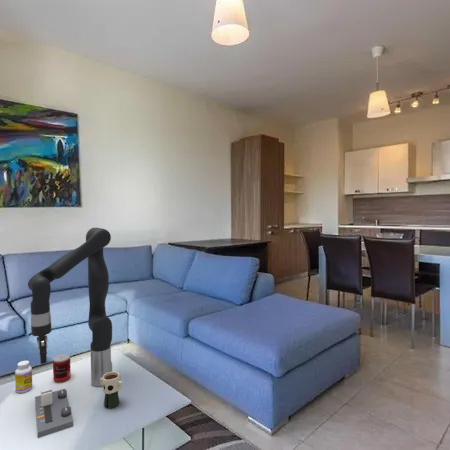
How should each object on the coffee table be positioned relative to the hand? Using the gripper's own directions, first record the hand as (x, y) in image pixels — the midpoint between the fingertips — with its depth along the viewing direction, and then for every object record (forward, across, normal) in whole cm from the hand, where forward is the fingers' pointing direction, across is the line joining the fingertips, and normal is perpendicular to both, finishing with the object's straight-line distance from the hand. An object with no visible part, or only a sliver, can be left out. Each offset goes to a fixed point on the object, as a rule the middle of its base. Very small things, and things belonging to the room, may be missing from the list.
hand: (43, 358), depth 139 cm
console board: (+20, -9, -2) cm, 22 cm away
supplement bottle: (+20, +17, +8) cm, 28 cm away
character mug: (+21, -16, -24) cm, 36 cm away
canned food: (+20, +18, -8) cm, 29 cm away
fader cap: (+18, -5, 0) cm, 18 cm away
